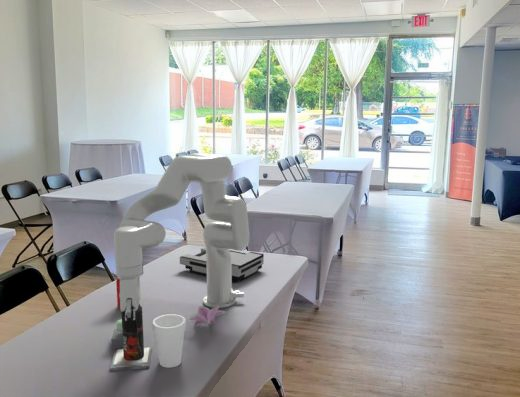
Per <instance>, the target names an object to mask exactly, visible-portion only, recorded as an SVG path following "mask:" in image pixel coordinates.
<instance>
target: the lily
mask: <svg viewBox="0 0 520 397" xmlns="http://www.w3.org/2000/svg"><path fill="white" fill-rule="evenodd" d="M219 309H220V308H219V306H218V307H215V308H211V309H210V308H208V307H207V306H206V307H205V306H202V305H201V306H198V308H197V314H198V315H195V316H192V317H191V318H190V317H189V321H194V323H193V327H196V326H199V325H200V324H202V323H207V324H208V327H209V328H208V329H209V332H210V335H211V334H212V335H213V333H212V328H211V325H215V320H216V319H215V318H216V317H218V316H221V315H224V314H226V313H227V311H225V310H219Z"/></svg>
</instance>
